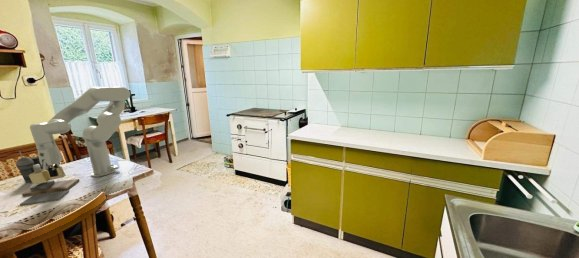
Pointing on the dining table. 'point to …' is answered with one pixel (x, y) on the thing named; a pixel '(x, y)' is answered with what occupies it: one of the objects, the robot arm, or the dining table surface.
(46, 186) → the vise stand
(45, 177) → the beige block
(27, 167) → the beverage cup
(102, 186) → the dining table surface
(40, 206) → the dining table surface
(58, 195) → the mat
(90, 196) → the dining table surface
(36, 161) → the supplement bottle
